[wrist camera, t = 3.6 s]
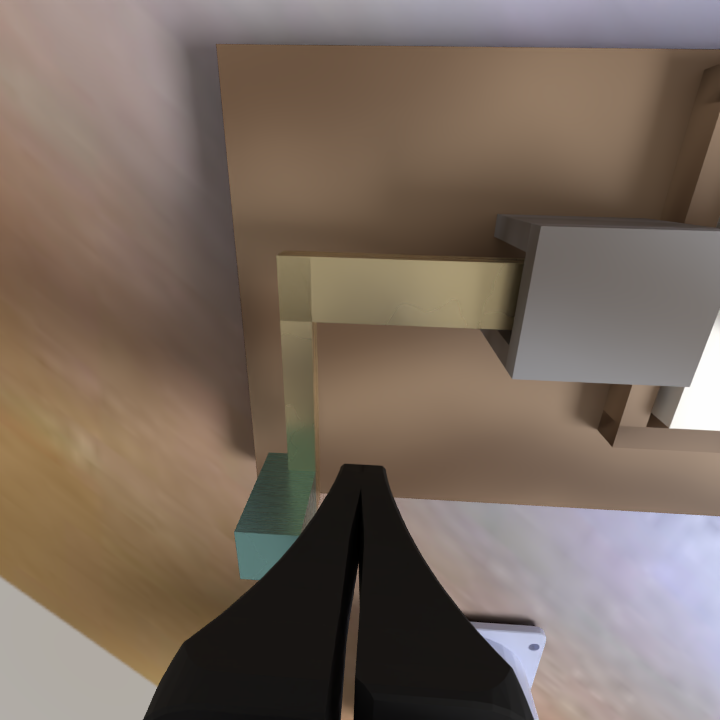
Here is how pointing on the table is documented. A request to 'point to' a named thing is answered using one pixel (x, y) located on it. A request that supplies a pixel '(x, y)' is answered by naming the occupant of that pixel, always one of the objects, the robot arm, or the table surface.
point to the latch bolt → (300, 360)
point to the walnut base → (490, 239)
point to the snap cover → (695, 392)
